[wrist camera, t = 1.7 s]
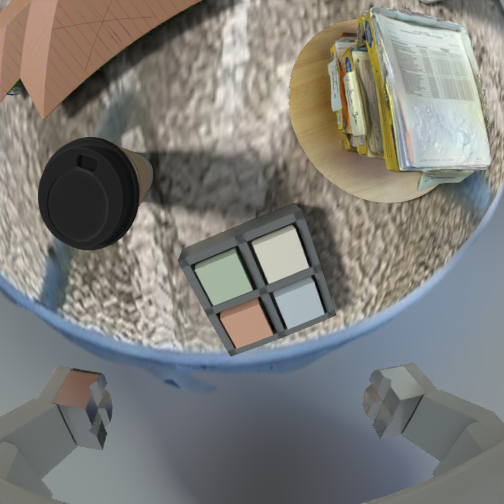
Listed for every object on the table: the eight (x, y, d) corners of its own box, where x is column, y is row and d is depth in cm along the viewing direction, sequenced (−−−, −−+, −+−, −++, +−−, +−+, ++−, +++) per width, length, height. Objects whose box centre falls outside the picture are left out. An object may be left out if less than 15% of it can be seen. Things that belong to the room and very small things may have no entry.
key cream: (291, 224, 35) (295, 228, 34) (304, 261, 37) (309, 267, 35) (251, 240, 36) (252, 246, 34) (266, 276, 37) (268, 284, 35)
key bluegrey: (309, 274, 38) (313, 281, 36) (320, 306, 40) (324, 314, 38) (272, 290, 38) (274, 297, 36) (285, 320, 40) (288, 329, 38)
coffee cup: (163, 132, 33) (125, 125, 19) (172, 209, 36) (142, 251, 22) (92, 146, 32) (23, 152, 18) (102, 218, 36) (44, 262, 22)
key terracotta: (257, 296, 38) (259, 304, 36) (271, 326, 40) (273, 335, 38) (220, 310, 38) (220, 319, 36) (236, 339, 40) (236, 348, 38)
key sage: (235, 247, 36) (235, 253, 34) (251, 283, 37) (252, 290, 36) (196, 263, 36) (194, 270, 34) (213, 297, 38) (213, 305, 36)
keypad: (293, 203, 37) (301, 209, 34) (327, 300, 43) (336, 315, 39) (182, 249, 38) (177, 260, 34) (229, 339, 43) (230, 356, 40)
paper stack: (276, 183, 37) (316, 214, 21) (299, 2, 28) (344, -66, 13) (434, 210, 40) (514, 247, 24) (451, 58, 32) (530, 44, 16)
